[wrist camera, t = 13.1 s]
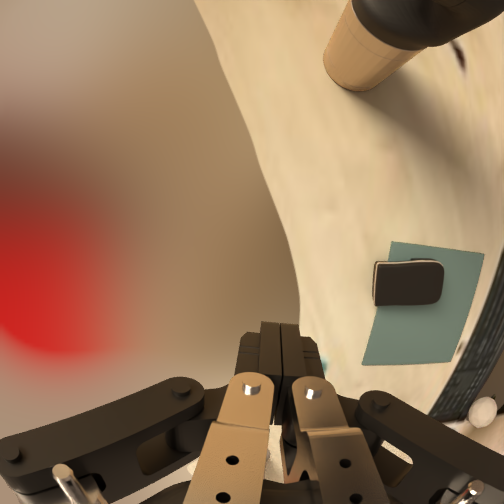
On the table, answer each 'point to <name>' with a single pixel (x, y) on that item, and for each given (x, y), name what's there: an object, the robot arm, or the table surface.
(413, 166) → the table surface
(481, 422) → the geometric ball
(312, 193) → the table surface
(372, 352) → the mat
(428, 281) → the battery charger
